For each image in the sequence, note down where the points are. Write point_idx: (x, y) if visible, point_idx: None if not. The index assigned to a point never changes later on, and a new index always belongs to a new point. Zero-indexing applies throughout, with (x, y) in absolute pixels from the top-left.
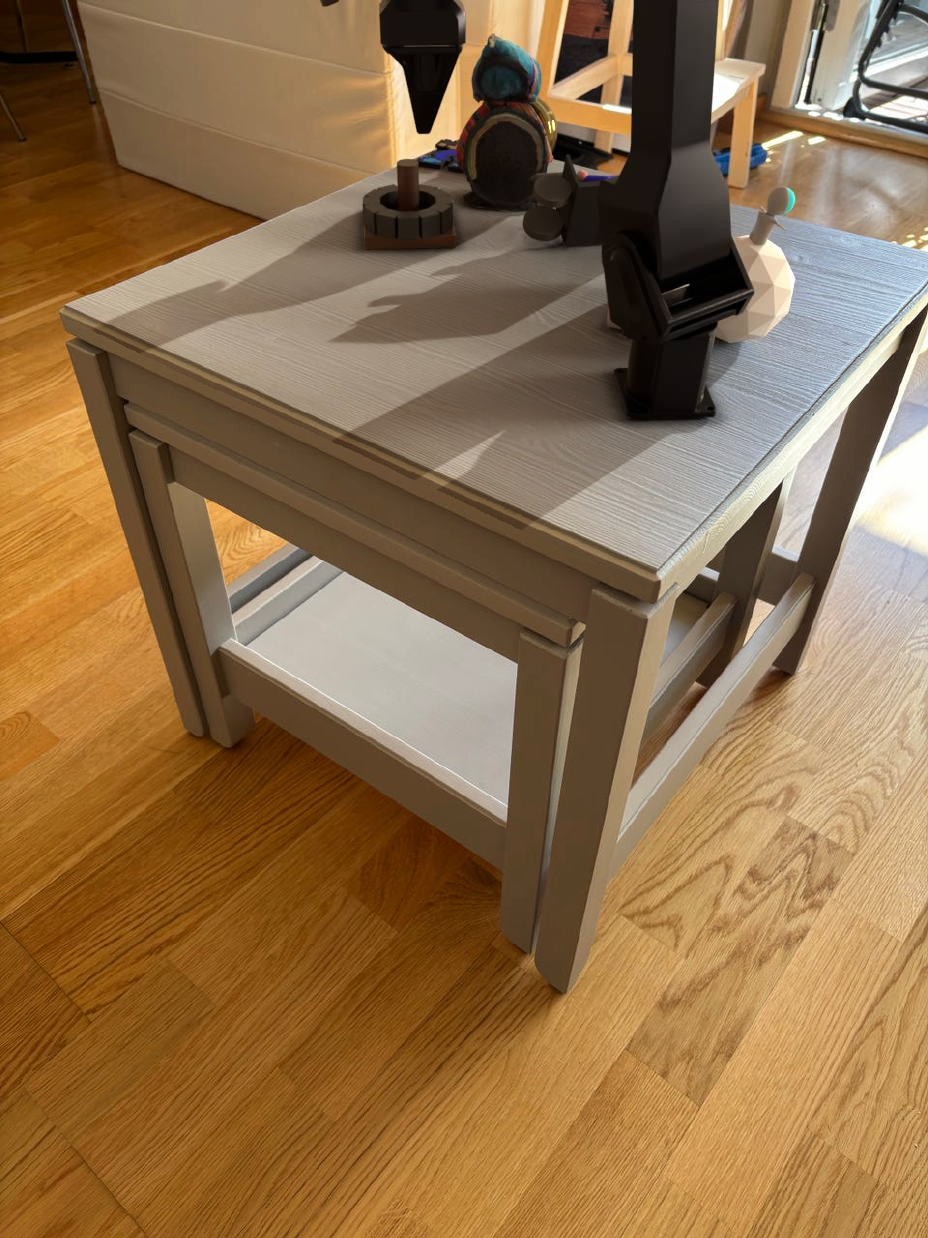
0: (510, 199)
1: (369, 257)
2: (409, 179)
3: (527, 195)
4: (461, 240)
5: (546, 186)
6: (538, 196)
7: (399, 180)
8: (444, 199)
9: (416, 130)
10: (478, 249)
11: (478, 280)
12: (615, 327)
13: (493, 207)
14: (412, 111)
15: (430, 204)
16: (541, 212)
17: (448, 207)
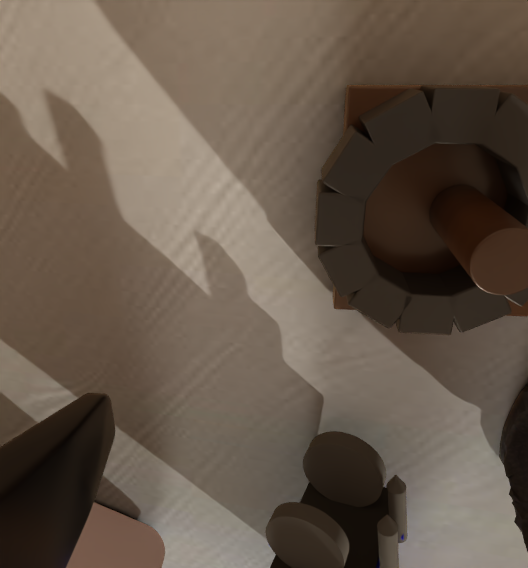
0: (523, 430)
1: (298, 97)
2: (457, 250)
3: (516, 465)
4: None
5: (307, 539)
6: (283, 513)
7: (474, 219)
8: (429, 316)
9: (81, 396)
10: (321, 336)
11: (180, 321)
12: None
13: (524, 390)
14: (9, 441)
15: (467, 274)
16: (361, 480)
17: (376, 320)
